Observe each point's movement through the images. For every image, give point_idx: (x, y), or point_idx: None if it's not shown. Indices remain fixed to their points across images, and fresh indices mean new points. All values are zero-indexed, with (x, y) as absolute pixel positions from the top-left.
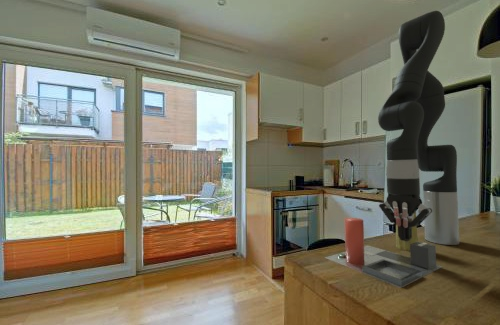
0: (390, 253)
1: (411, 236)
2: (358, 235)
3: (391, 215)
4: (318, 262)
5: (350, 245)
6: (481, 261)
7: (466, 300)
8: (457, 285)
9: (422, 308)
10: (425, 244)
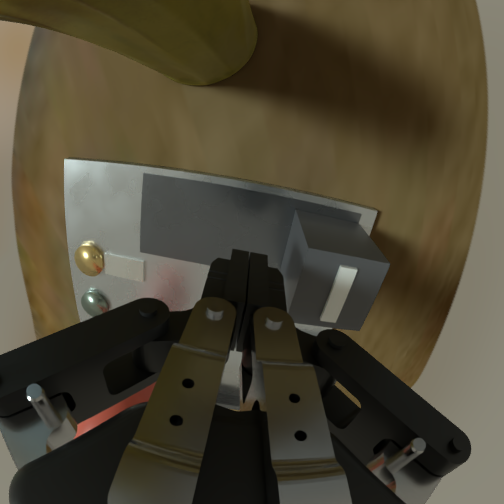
0: (175, 198)
1: (281, 282)
2: None
3: (127, 387)
4: None
5: None
6: (457, 26)
7: (396, 364)
8: (397, 312)
9: None
10: (350, 286)
